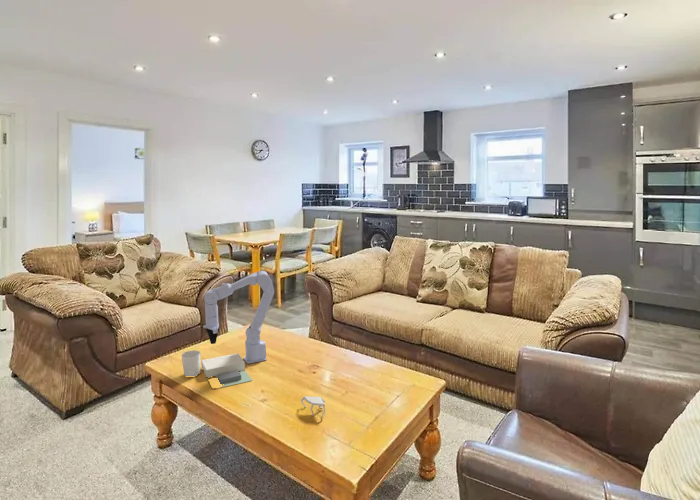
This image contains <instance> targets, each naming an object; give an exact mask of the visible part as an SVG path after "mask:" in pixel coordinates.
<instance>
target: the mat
mask: <svg viewBox="0 0 700 500" xmlns="http://www.w3.org/2000/svg"><path fill="white" fill-rule="evenodd" d="M239 373H240V374H241V380H237V381H233V382H228V383H224V385H223V384H222V385H223V386H222V387H223V388H226V387H225V386H227V387H230V385H232V386H236V385H240V383H241V384H245V383H249V382H252V381H253V379H252V377H251V376H250V375H249V374H248V372H247V371H246V370H244V371H240V372H239ZM235 384H236V385H235Z"/></svg>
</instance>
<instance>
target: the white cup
mask: <svg viewBox="0 0 700 500" xmlns="http://www.w3.org/2000/svg"><path fill="white" fill-rule="evenodd" d="M181 360H182V367H183V368H182V370H183V376H184V375H185V376H196V375H198V374H200V375H201V365H202V361H201V360H202V359H201V351H200V350H188V351H184V352H183V353H182V354H181ZM185 376H184V377H185Z"/></svg>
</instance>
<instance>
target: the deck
mask: <svg viewBox="0 0 700 500" xmlns="http://www.w3.org/2000/svg"><path fill="white" fill-rule="evenodd" d="M243 359H244V358H242V357H241V356H240V354H239V353H238V352H237V353H232V354H227V355H222V356H216V357H211V358H206V359H201V369H202V368H203V369H202V371H203V370H204V372H203V373H205V374H204V375H206V376H205V378H206V377H211V376H216V377H217V374H221V373H226V372H231V371H236V370H238V371H240V372H241V371H246V365H245V363H246V361H245V360H243ZM211 378H212V377H211Z"/></svg>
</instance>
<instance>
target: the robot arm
mask: <svg viewBox="0 0 700 500" xmlns="http://www.w3.org/2000/svg"><path fill="white" fill-rule="evenodd" d="M249 285H251V286H257V285H258V286H259V287H260V288H261V289H262V291H263V293H262V296H261V298H260V300H259V303H258V306H257V309H256V311H255V313H254V317H253V320H252V321H251V322H250V324H249V326H248V327H247V328H246V329H245V336H246V339H245V341H244V342H245V343H244V345H245V356H243V358H242V359H244V360H243V361H244V362H245V363H246V364H248V365H249V364H253V363H259V362H263V361H267V347H266V342H265V340H264V339H263V340H261V332H262V326H263V323H264V320H265V318H266V315H267V312H268V310H269V308H270V305H271V302H272V300H273V299H274V294H275V288H274V284H273V280H272V279H271V276H270V275H269V273H268V272H267V271H265V270H258V271H256V272H253V273H252V274H249V275H246V276H245V277H243V278H241V279H239V280H237V281H235V282H233V283H228V282H227V283H225V282H223V283H222V284H221V285H220V286H218V287H214V288H211V289H208V290H207V291H206V292H205V293H204V298H203V300H204V302H205V303H204V315H205V316H204V317H205V325H202V327H203V329H205V331H206V334H207V335H208V339H209V343H210V344H211V345H215V344H216V343H217V339H218V334H219V333H220V328H219V327H220V324H219V307H218V301H219V300H223V299H225V298H226V297H229V296H231V295H233V293H234V291H237V290H238V289H242V288H243V287H246V286H249Z"/></svg>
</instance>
